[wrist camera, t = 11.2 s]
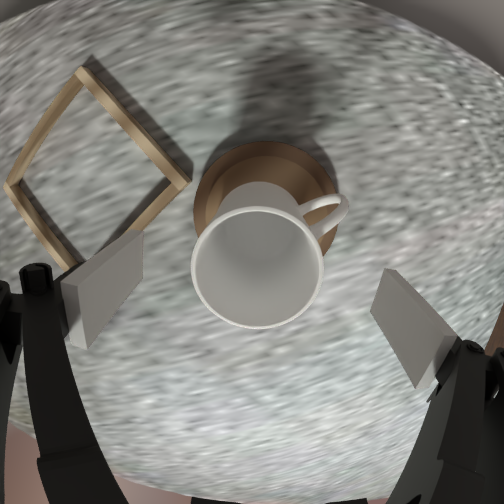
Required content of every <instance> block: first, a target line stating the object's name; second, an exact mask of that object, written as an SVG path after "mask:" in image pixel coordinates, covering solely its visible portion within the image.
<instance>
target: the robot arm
mask: <svg viewBox="0 0 504 504" xmlns="http://www.w3.org/2000/svg"><path fill="white" fill-rule="evenodd" d="M143 240H144V231H140V230H133V229H130V230H129V231H128V232H126V233H125V234H123V235H122V236H120V237H119V238H118V239H116V240H115V241H113V242H112V243H111V244H109V245H108V246H106V247H105V248H104V249H102V250H101V251H100V252H98V253H97V254H96V255H94V256H93V257H92V258H90V259H89V260H88V261H86V262H81V263H79V264H76V265H74V266H72V267H71V268H70V269H68V271H66V272H64V273H63V275H60V276H59V277H58V278H57V279H55V280H54V281H53V276H52V268H51V266H50V265H48V264H46V263H32V264H29V265H26V266H24V267H23V268H21V269H20V271H19V275H20V281H21V286H22V292H23V294H14V293H11V292H10V287H9V284H8V283H7V282H6V281H1V280H0V504H4V461H5V444H6V433H7V424H8V416H9V409H10V402H11V396H12V391H13V386H14V381H15V376H16V371H17V367H18V362H19V358H20V354H21V350H22V347H23V351H24V364H25V374H26V383H27V391H28V397H29V404H30V410H31V415H32V420H33V425H34V430H35V434H36V439H37V443H38V447H39V451H40V458H37V466H38V471H39V474H40V477H41V481H42V484H43V487H44V490H45V493H46V495H47V498H48V501H49V504H129V503H128V501H127V500H126V498H125V496H124V495H123V493H122V491H121V489H120V487H119V485H118V483H117V482H116V480H115V478H114V476H113V474H112V472H111V470H110V468H109V466H108V464H107V462H106V460H105V458H104V455H103V453H102V451H101V449H100V447H99V444H98V442H97V440H96V437H95V435H94V432H93V430H92V428H91V425H90V422H89V420H88V417H87V415H86V412H85V409H84V406H83V404H82V401H81V398H80V395H79V392H78V389H77V385H76V382H75V379H74V376H73V372H72V369H71V365H70V362H69V358H68V354H67V350H66V346H65V342H64V338H65V337H66V335H67V334H68V333H69V336H70V340H71V345H73V346H76V347H80V348H83V349H86V350H88V349H89V347H90V346H91V345H92V343H93V342H94V341H95V339H96V338H97V336H98V335H99V334H100V332H101V331H102V330H103V328H104V327H105V326H106V325H107V323H108V322H109V321H110V319H111V318H112V317H113V315H114V314H115V313H116V312H117V310H118V309H119V308H120V306H121V305H122V304H123V303H124V301H125V300H126V299H127V297H128V296H129V295H130V294H131V292H132V291H133V290H134V289H135V288H136V286H137V285H138V284H139V283H140V281H141V280H142V279H143ZM370 312H371V314H372V315H373V317H374V319H375V320H376V322H377V324H378V325H379V327H380V328H381V330H382V332H383V333H384V335H385V337H386V338H387V340H388V342H389V344H390V345H391V347H392V349H393V350H394V352H395V354H396V355H397V357H398V359H399V361H400V362H401V364H402V366H403V368H404V369H405V371H406V373H407V375H408V377H409V378H410V380H411V382H412V384H413V386H414V388H415V389H421V388H429V386H430V385H431V383H432V381H433V380H434V378H435V377H436V379H437V380H438V382H439V383H438V385H437V386H436V388H435V389H434V391H433V392H432V394H431V395H430V397H429V398H428V400H427V401H426V402H429V401H430V400H431V402H430V405H429V408H428V411H427V414H426V417H425V419H424V422H423V425H422V428H421V430H420V433H419V435H418V438H417V440H416V443H415V445H414V448H413V450H412V452H411V455H410V457H409V459H408V461H407V463H406V466H405V468H404V470H403V472H402V474H401V476H400V478H399V480H398V482H397V484H396V486H395V488H394V490H393V492H392V493H391V495H390V497H389V499H388V501H387V502H386V504H504V348H502V347H498V348H496V350H495V352H494V354H493V355H492V356H488V355H485V351H484V349H483V348H482V347H481V346H480V345H479V344H477V343H476V342H473V341H470V340H463V341H462V340H461V339H460V337H459V336H458V335H457V334H456V333H455V332H454V331H453V329H452V328H451V327H450V326H449V325H448V324H447V323H446V322H445V321H444V319H443V318H442V317H441V316H440V315H439V314H438V313H437V312H436V311H435V310H434V309H433V308H432V307H431V306H430V304H429V303H428V302H427V301H426V300H425V299H424V298H423V297H422V296H421V295H420V294H419V293H418V292H417V291H416V290H415V289H414V288H413V287H412V286H411V285H410V284H409V283H408V282H407V281H406V280H405V279H404V278H403V277H402V276H401V275H400V274H399V273H398V272H397V271H396V270H392V269H386V268H384V271H383V275H382V278H381V281H380V284H379V287H378V290H377V293H376V296H375V298H374V301H373V304H372V307H371V310H370ZM497 391H498V393H497ZM496 393H497V395H496V397H495V398H494V395H495V394H496ZM475 470H476V472H475ZM191 504H241V503H236V502H226V501H217V500H210V499H203V498H197V497H192V499H191ZM326 504H368V503H367V498H363V499H356V500H349V501H340V502H330V503H326Z"/></svg>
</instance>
